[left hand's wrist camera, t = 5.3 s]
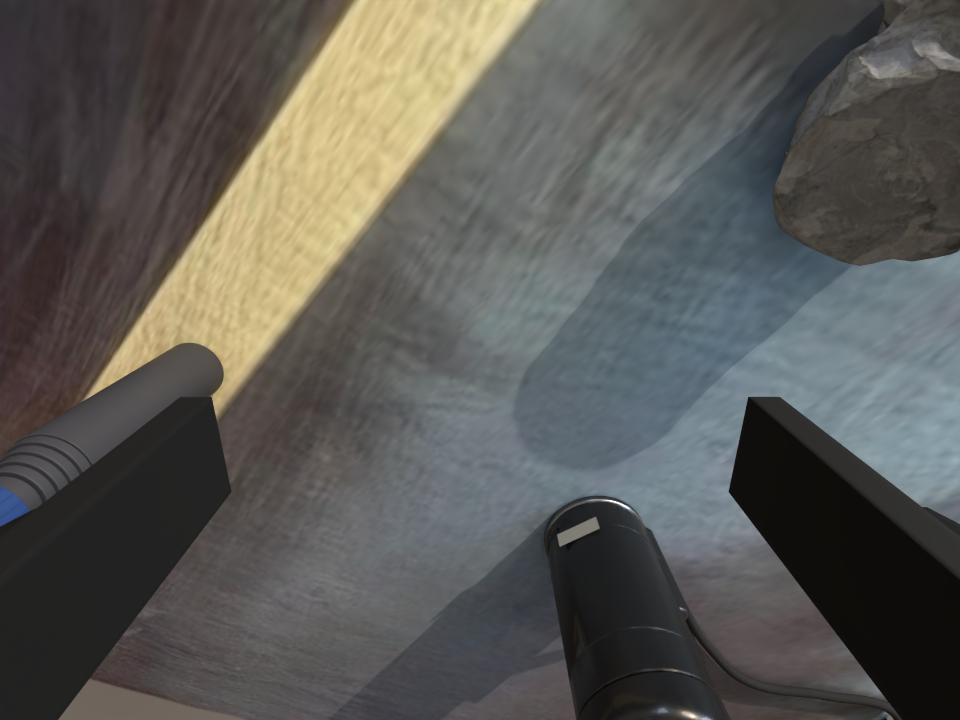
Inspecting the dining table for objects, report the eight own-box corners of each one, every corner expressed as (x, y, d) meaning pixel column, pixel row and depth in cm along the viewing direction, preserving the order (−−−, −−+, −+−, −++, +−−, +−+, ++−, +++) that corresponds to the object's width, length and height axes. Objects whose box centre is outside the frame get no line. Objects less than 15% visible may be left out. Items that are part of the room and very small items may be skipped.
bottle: (233, 387, 43) (33, 568, 24) (182, 401, 43) (-54, 589, 24) (207, 336, 41) (-30, 485, 22) (155, 351, 42) (-122, 510, 22)
